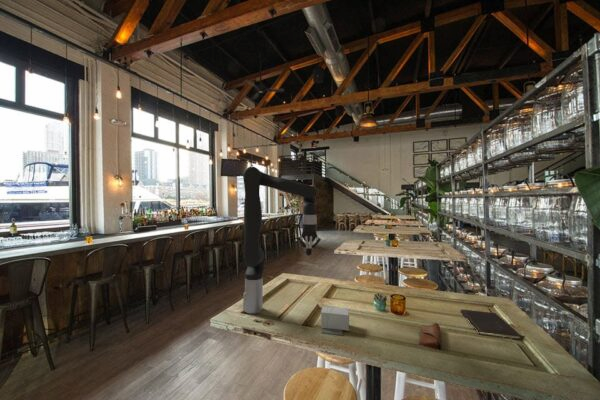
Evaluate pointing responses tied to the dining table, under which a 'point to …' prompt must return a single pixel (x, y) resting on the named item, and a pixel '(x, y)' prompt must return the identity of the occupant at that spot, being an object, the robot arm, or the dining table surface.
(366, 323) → the dining table surface
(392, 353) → the dining table surface
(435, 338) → the sunglasses case
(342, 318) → the supplement box
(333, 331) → the dark grey rectangular panel
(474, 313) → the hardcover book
